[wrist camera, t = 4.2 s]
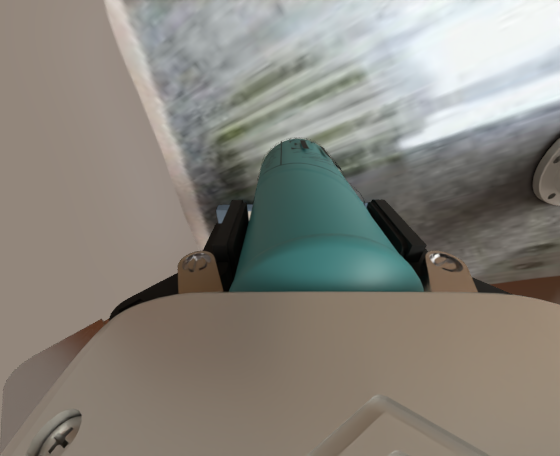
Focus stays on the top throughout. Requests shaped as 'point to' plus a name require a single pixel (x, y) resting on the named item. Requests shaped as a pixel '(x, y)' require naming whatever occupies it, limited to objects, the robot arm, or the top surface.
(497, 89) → the top surface
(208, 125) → the top surface
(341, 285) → the beverage bottle
